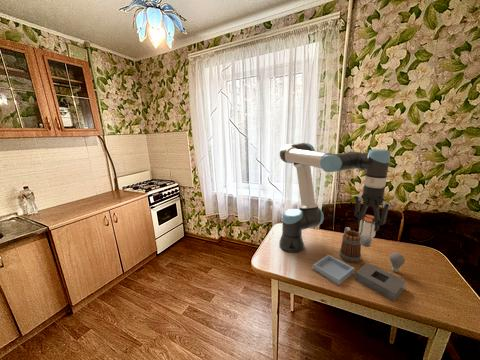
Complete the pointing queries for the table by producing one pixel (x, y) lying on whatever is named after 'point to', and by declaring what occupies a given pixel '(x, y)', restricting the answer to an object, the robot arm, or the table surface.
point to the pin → (366, 230)
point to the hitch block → (380, 281)
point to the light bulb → (396, 261)
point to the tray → (333, 269)
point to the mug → (351, 246)
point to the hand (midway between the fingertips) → (366, 234)
